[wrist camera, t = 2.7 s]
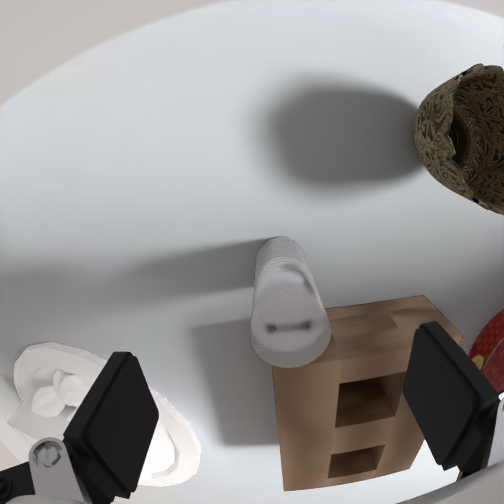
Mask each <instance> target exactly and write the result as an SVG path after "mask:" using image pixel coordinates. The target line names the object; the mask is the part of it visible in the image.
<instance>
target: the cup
mask: <svg viewBox="0 0 504 504" xmlns="http://www.w3.org/2000/svg"><path fill="white" fill-rule="evenodd" d="M413 139H414V144H415V147H416V149H417V152H418V155H419V157H420V159H421V161H422V163H423V164H424V166H425V167H426V169H427V170H428V172H429V173H430V174H431V175H432V176H433V177H434V178H435V179H436V180H437V181H438V182H440V183H441V184H442V185H444V186H445V187H447V188H448V189H450V190H452V191H453V192H455V193H457V194H459V195H461V196H463V197H465V198H467V199H469V200H471V201H473V202H475V203H477V204H478V205H480V206H482V207H483V208H485V209H487V210H488V209H489V210H491V211H493V212H495V213H498V214H502V215H504V70H503V68H502V67H500V66H494V65H489V66H483V64H476V65H474V66H472V67H471V68H470V69H468V70H466V71H464V72H462V73H460V74H459V75H457V76H455V77H453V78H452V79H450V80H448V81H446V82H445V83H443V84H442V85H440V86H439V87H437V88H436V89H434V90H433V91H432V92H431V93H430V94H428V95H427V97H426V98H425V99H424V100H423V101H422V103H421V105H420V106H419V109H418V111H417V114H416V117H415V122H414V132H413Z"/></svg>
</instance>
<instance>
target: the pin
mask: <svg viewBox="0 0 504 504" xmlns="http://www.w3.org/2000/svg"><path fill="white" fill-rule="evenodd" d="M330 338H331V326H330V323H329V320H328V317H327V314H326V311H325V309H324V306H323V303H322V300H321V298H320V295H319V292H318V289H317V287H316V284H315V281H314V279H313V276H312V273H311V271H310V268H309V265H308V263H307V260H306V258H305V255H304V252H303V250H302V248H301V247H300V245H299V244H298V243H297V242H295V241H294V240H292V239H290V238H287V237H275V238H272V239H269V240H268V241H266V242H265V243H264V244H263V245H262V246H261V247H260V249H259V251H258V253H257V258H256V270H255V282H254V295H253V307H252V319H251V331H250V341H251V345H252V348H253V350H254V351H255V353H256V354H257V355H258V356H259V357H260V358H261V359H262V360H263V361H265V362H267V363H268V364H271V365H273V366H277V367H282V368H294V367H299V366H303V365H306V364H308V363H310V362H312V361H314V360H315V359H317V358H318V357H319V356H320V355H321V354H322V353H323V352H324V351H325V349H326V348H327V346H328V344H329V342H330Z"/></svg>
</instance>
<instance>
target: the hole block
mask: <svg viewBox="0 0 504 504" xmlns="http://www.w3.org/2000/svg"><path fill="white" fill-rule="evenodd" d="M325 311H326V314H327V317H328V320H329V323H330V326H331V338H330V342H329V344H328V346H327V348H326V349H325V351H324V352H323V353H322V354H321V355H320V356H319V357H318V358H317V359H315V360H314V361H312V362H310V363H308V364H306V365H303V366H299V367H294V368H282V367H277V366H273V365H272V372H273V382H274V392H275V402H276V412H277V423H278V433H279V444H280V454H281V465H282V476H283V487H284V491H294V490H305V489H314V488H322V487H329V486H336V485H342V484H347V483H353V482H358V481H363V480H368V479H372V478H376V477H381V476H385V475H389V474H392V473H396V472H400V471H403V470H407V469H410V467H411V465H412V463H413V461H414V459H415V457H416V455H417V454H418V452H419V450H420V448H421V446H422V444H423V441H424V439H425V438H424V436H423V434H422V431H421V429H420V427H419V425H418V423H417V421H416V419H415V417H414V415H413V413H412V411H411V409H410V407H409V405H408V403H407V401H406V399H405V397H404V395H403V384H404V380H405V376H406V372H407V367H408V363H409V358H410V354H411V349H412V344H413V338H414V333H415V330H416V329H418V328H419V326H420V324H423V323H427V322H431V321H437V322H438V323H439V324H440V325H441V326H442V327H443V328H444V329H445V330H446V332H447V333H448V334H449V335H450V336H451V337H452V338H453V339H454V341H455V342H456V343H457V344H458V345H459V346H460V342H461V338H462V335H461V334H460V332H459V331H458V330H457V329H456V328H455V327H454V326H453V325H452V324H451V323H450V322H449V321H448V319H447V318H446V317H445V316H444V315H443V314H442V313H441V312H440V311H439V310H438V309H437V308H436V307H435V306H434V305H433V304H432V303H431V302H430V301H429V300H428V299H427V298H426V297H425V296H424V295H421V296H415V297H409V298H403V299H396V300H389V301H383V302H376V303H369V304H361V305H354V306H346V307H337V308H329V309H325Z"/></svg>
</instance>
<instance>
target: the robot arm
mask: <svg viewBox="0 0 504 504" xmlns="http://www.w3.org/2000/svg"><path fill="white" fill-rule="evenodd" d="M403 395H404V397H405V399H406V401H407V403H408V405H409V407H410V409H411V411H412V413H413V415H414V417H415V419H416V421H417V423H418V425H419V427H420V429H421V431H422V434H423V436H424V438H425V440H426V442H427V444H428V446H429V448H430V450H431V453H432V455H433V457H434V459H435V461H436V463H437V464H438V465H442V467H443V470H444V471H445V470H448V469H450V468H452V467H455V466H458V468H459V470H460V472H459V475H458V477H457V480H456V482H454V483H452V484H449V485H447V486H444V487H442V488H439V489H437V490H434V491H432V492H429V493H426V494H424V495H421V496H418V497H415V498H412V499H409V500H406V501H403V502H400V503H397V504H504V398H503V399H502V401H501V400H500V399H499V398H498V396H499V393H498V392H497V391H496V389H495V388H494V387H493V386H492V384H491V383H490V382H489V381H488V379H487V378H486V377H485V376H484V374H483V373H482V372H481V371H480V370H479V368H478V367H477V366H476V365H475V364H474V362H473V361H472V360H471V359H470V358H469V357H468V355H467V354H466V353H465V352H464V351H463V350H462V348H461V347H460V346H459V345H458V344H457V343H456V342H455V341H454V339H453V338H452V337H451V336H450V335H449V334H448V333H447V332H446V330H445V329H444V328H443V327H442V326H441V325H440V324H439V323H438V322H437V321H431V322H427V323H423V324H420V326H419V328H418V329H416V330H415V333H414V338H413V344H412V349H411V354H410V358H409V363H408V367H407V372H406V376H405V380H404V384H403ZM158 419H159V410H158V408H157V406H156V403H155V401H154V399H153V396H152V394H151V392H150V389H149V387H148V385H147V382H146V380H145V377H144V375H143V372H142V370H141V367H140V364H139V362H138V359H137V358H136V357H135V356H133V355H132V354H131V353H130V352H114V353H113V354H112V355H111V357H110V358H109V360H108V361H107V363H106V364H105V366H104V367H103V369H102V371H101V372H100V374H99V375H98V377H97V378H96V380H95V382H94V383H93V385H92V386H91V388H90V390H89V391H88V393H87V395H86V396H85V398H84V399H83V401H82V403H81V404H80V406H79V408H78V409H77V411H76V413H75V414H74V416H73V418H72V419H71V421H70V423H69V425H68V426H67V428H66V430H65V432H64V433H63V436H64V439H63V440H62V441H61V440H60V439H57V438H53V437H48V438H43V439H41V440H39V441H38V442H36V443H35V444H34V445H33V446H32V448H31V449H30V452H29V461H28V462H25V463H22V464H20V465H17V466H14V467H11V468H9V469H6V470H3V471H0V504H114V502H113V501H114V498H115V496H118V497H122V498H126V499H129V498H130V494H131V492H135V490H136V488H137V485H138V482H139V478H140V475H141V472H142V469H143V466H144V462H145V459H146V456H147V453H148V450H149V447H150V444H151V441H152V438H153V435H154V432H155V429H156V425H157V422H158Z"/></svg>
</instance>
